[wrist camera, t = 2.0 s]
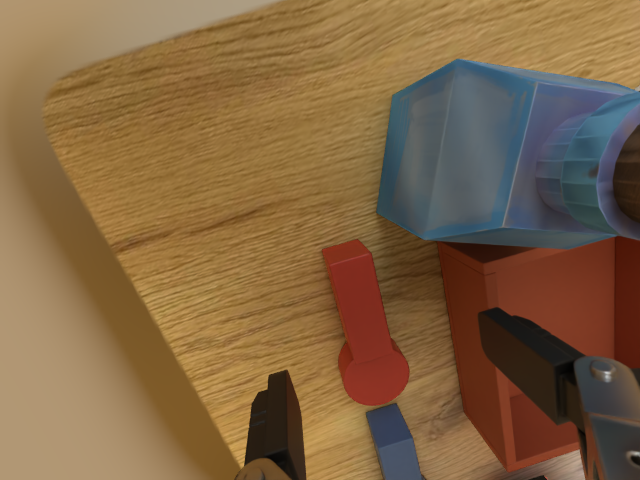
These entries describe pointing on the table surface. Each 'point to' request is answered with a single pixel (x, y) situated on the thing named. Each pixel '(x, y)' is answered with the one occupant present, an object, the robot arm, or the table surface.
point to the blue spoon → (393, 444)
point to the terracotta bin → (549, 313)
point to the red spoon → (364, 328)
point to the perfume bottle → (512, 158)
